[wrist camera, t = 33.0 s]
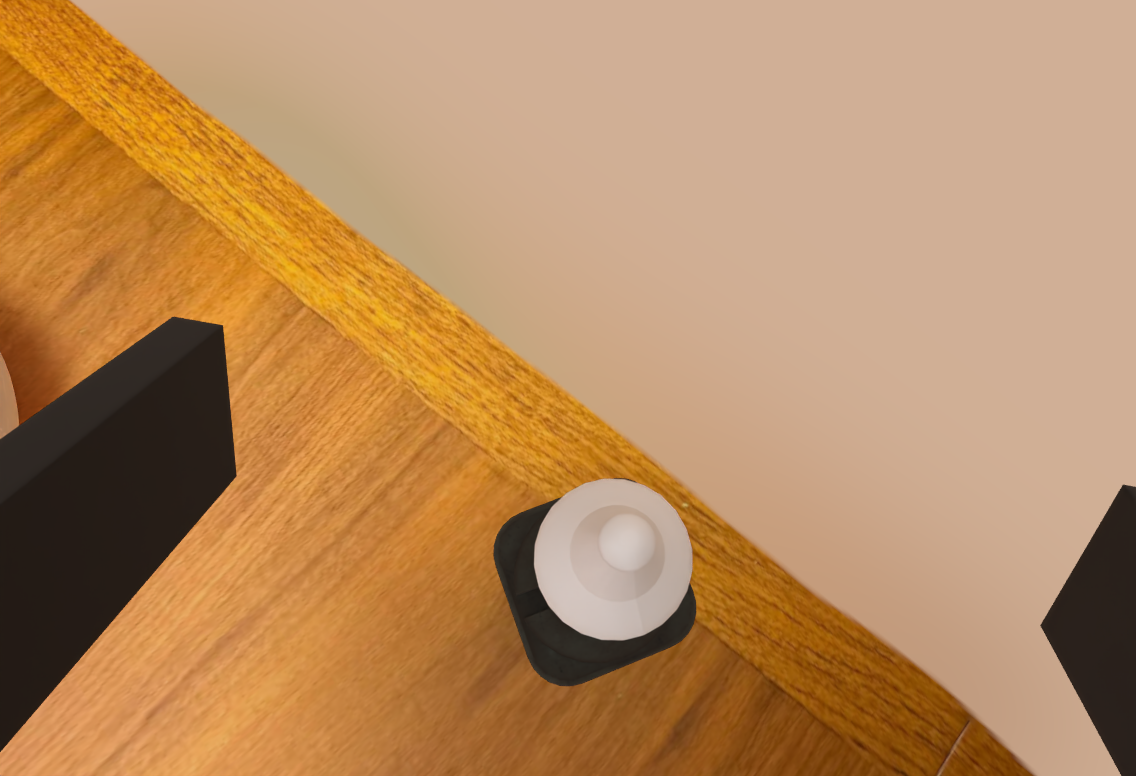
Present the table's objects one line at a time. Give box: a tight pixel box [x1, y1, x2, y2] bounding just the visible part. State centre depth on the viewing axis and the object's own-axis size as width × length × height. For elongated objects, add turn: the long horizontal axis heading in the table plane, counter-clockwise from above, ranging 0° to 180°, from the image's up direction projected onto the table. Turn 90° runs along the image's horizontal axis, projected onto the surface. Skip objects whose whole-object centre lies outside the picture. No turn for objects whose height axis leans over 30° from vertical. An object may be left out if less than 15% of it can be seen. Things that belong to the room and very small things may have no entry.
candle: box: [494, 478, 696, 686], centre depth 23 cm, size 5×5×25 cm
